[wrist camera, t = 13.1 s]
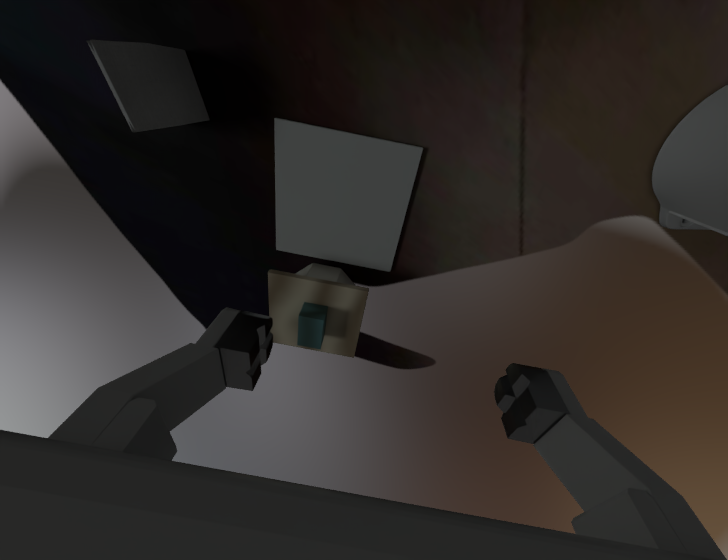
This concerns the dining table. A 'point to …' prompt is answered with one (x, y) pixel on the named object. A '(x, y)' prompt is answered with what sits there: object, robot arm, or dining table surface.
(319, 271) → the bowl
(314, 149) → the mat
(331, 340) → the board
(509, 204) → the dining table surface
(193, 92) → the dark grey block
